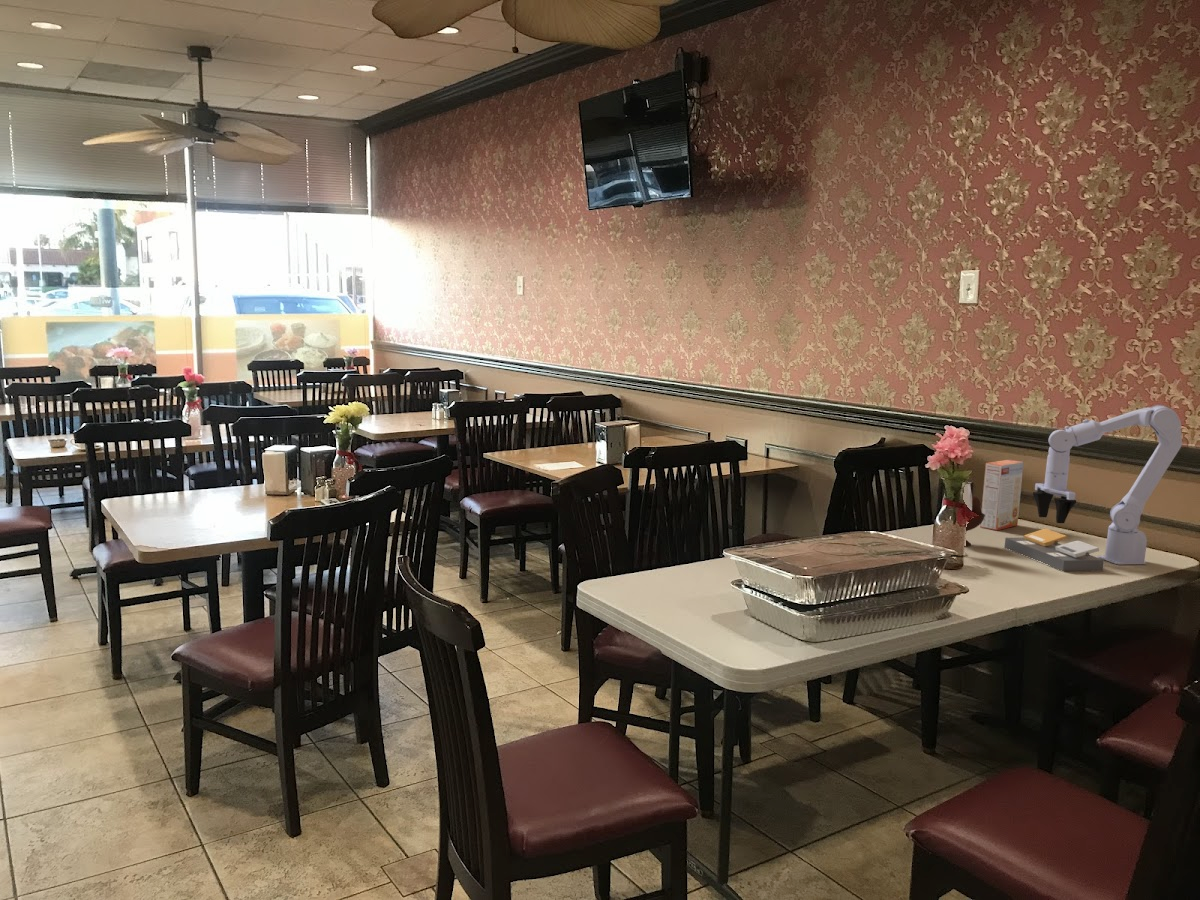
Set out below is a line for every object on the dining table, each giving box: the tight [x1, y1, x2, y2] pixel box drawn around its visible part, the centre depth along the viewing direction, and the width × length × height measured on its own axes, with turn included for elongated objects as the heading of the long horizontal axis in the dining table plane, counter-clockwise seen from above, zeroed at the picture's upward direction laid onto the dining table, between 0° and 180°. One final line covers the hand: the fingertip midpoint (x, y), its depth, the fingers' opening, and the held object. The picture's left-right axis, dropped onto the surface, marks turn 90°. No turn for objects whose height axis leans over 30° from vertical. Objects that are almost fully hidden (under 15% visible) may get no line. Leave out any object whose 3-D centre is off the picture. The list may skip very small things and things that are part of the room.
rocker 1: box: [1023, 527, 1068, 546], centre depth 268 cm, size 7×9×2 cm
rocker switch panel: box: [1003, 537, 1105, 572], centre depth 263 cm, size 16×25×3 cm, turn 12°
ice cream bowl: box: [966, 493, 985, 547], centre depth 275 cm, size 11×11×15 cm
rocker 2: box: [1055, 540, 1100, 558], centre depth 256 cm, size 7×8×2 cm
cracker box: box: [979, 459, 1024, 531], centre depth 301 cm, size 14×6×21 cm, turn 130°
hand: (1051, 520), depth 269 cm, fingers open, 7 cm apart
